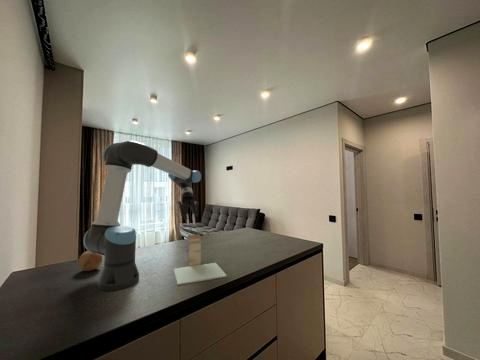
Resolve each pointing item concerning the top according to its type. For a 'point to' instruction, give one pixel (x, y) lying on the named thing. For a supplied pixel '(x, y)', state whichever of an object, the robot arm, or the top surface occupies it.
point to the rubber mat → (198, 273)
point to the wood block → (194, 250)
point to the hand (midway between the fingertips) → (191, 223)
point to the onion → (89, 261)
